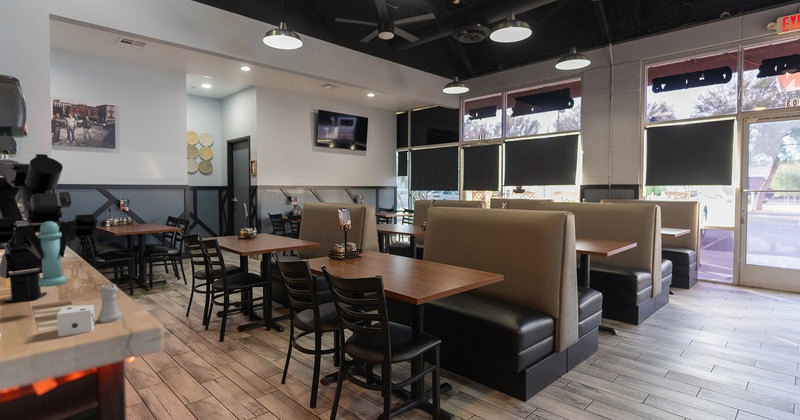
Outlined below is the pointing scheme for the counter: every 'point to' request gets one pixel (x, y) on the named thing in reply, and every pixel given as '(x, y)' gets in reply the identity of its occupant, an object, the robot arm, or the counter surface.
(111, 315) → the rook chess piece
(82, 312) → the die
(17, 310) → the counter surface
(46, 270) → the pawn
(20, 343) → the counter surface
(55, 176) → the robot arm
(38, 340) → the counter surface
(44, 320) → the board
